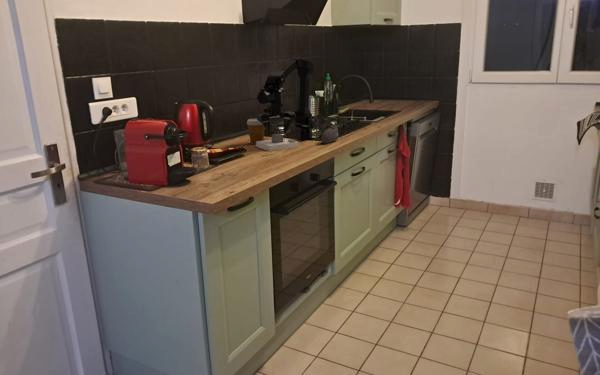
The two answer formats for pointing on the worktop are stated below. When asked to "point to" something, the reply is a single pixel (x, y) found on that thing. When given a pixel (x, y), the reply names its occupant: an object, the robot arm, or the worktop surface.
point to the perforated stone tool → (330, 135)
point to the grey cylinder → (277, 138)
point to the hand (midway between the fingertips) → (276, 134)
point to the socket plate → (277, 144)
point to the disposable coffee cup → (255, 130)
